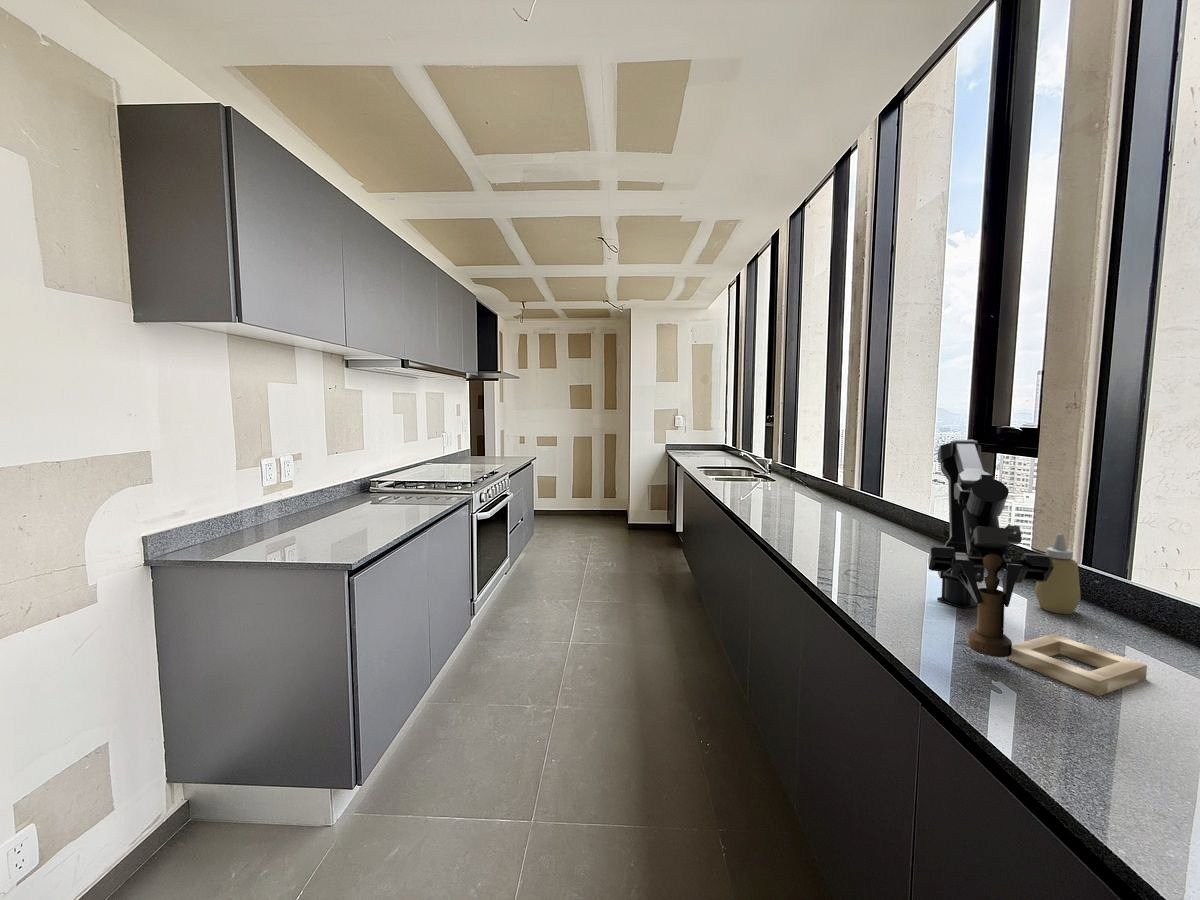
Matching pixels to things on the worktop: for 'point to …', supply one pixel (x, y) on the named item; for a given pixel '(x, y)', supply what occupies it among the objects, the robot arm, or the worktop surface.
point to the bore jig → (1098, 682)
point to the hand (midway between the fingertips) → (992, 604)
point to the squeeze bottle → (1060, 580)
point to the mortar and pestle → (991, 615)
